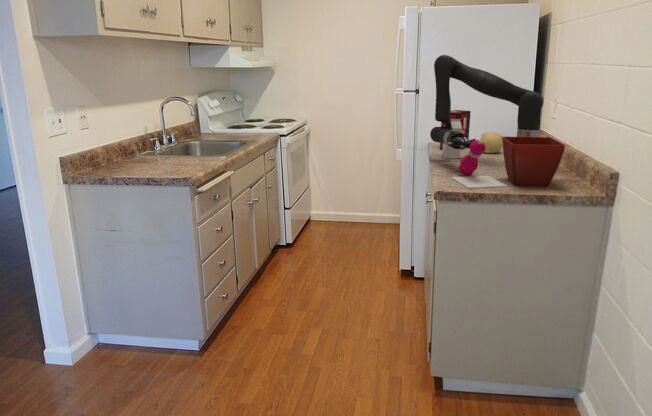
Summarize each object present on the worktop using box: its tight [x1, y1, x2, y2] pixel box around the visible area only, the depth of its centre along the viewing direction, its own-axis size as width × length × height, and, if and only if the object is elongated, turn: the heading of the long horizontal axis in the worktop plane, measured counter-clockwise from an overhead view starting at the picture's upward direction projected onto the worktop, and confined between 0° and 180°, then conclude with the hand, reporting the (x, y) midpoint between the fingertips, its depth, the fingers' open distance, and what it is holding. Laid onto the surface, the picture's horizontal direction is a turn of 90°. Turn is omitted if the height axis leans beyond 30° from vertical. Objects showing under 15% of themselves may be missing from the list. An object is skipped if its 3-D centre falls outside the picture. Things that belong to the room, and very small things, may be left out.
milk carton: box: [441, 119, 462, 159], centre depth 250 cm, size 7×7×19 cm
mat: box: [450, 175, 509, 189], centre depth 201 cm, size 18×16×1 cm
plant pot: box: [502, 136, 566, 187], centre depth 198 cm, size 19×19×17 cm
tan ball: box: [479, 131, 504, 154], centre depth 262 cm, size 12×12×11 cm
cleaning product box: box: [439, 109, 472, 151], centre depth 274 cm, size 16×9×20 cm, turn 141°
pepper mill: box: [458, 139, 486, 177], centre depth 205 cm, size 7×7×20 cm
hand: (469, 145), depth 208 cm, fingers closed
